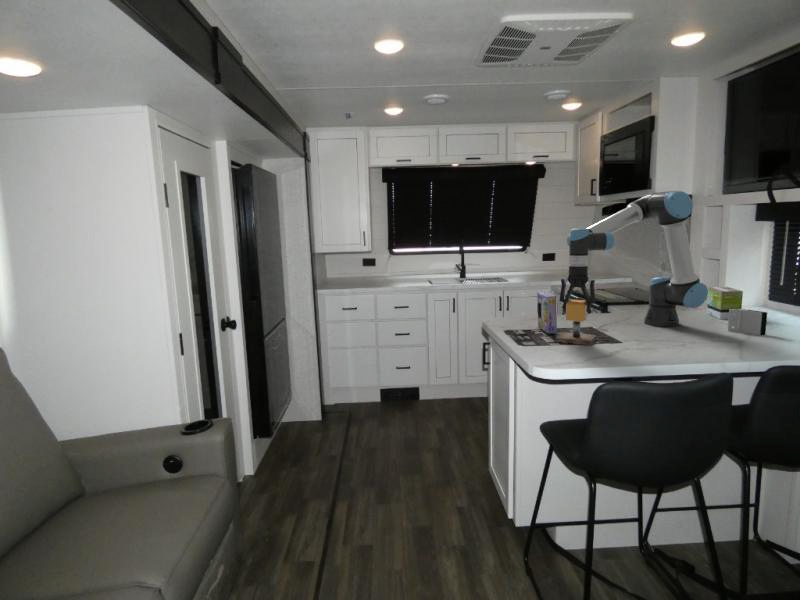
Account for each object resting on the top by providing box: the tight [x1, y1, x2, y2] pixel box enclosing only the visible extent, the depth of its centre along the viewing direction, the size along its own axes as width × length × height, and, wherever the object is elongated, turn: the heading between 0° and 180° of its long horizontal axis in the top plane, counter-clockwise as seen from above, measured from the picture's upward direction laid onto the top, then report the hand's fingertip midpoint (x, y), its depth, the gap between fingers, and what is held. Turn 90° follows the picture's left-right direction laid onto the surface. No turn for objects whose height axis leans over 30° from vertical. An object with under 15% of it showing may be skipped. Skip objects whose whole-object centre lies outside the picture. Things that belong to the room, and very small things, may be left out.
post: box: [572, 321, 581, 337], centre depth 212 cm, size 3×3×6 cm
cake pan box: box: [536, 290, 558, 334], centre depth 234 cm, size 19×5×18 cm, turn 178°
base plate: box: [555, 331, 597, 346], centre depth 212 cm, size 14×12×2 cm
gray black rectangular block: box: [727, 308, 768, 336], centre depth 218 cm, size 14×5×10 cm, turn 37°
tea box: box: [706, 286, 744, 320], centre depth 253 cm, size 15×10×15 cm
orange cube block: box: [565, 299, 587, 322], centre depth 210 cm, size 7×7×8 cm
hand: (576, 318), depth 211 cm, fingers closed on orange cube block, 7 cm apart
